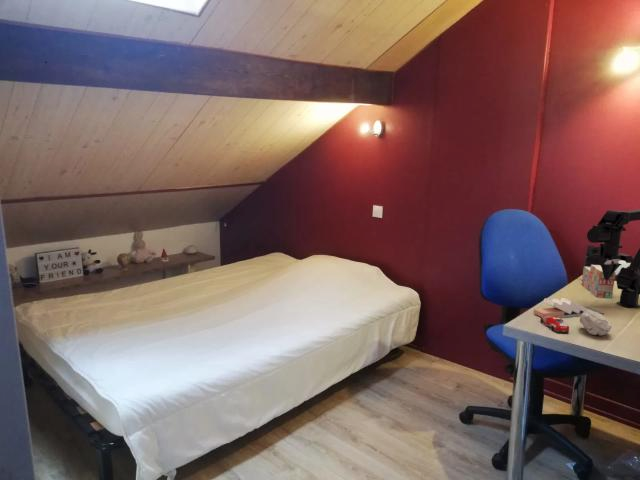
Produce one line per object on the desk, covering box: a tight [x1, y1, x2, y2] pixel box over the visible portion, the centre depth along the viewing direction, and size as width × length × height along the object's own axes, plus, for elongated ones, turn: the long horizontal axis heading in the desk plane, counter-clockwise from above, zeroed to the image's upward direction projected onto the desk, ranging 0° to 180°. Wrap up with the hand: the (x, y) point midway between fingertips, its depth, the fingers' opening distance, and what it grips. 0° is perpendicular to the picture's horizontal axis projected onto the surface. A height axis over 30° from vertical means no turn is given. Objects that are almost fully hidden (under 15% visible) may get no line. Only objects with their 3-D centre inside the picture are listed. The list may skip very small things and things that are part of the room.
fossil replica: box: [579, 309, 612, 336], centre depth 166 cm, size 12×8×10 cm
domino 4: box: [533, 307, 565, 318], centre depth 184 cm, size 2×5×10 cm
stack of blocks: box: [581, 265, 617, 299], centre depth 218 cm, size 21×6×12 cm, turn 168°
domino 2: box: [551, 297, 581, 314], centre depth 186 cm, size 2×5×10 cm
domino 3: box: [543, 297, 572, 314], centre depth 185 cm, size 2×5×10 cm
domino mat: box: [554, 306, 604, 319], centre depth 188 cm, size 22×8×1 cm, turn 107°
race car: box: [539, 316, 570, 333], centre depth 172 cm, size 13×5×4 cm, turn 1°
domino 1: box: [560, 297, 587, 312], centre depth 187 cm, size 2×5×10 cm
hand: (606, 279), depth 192 cm, fingers closed
